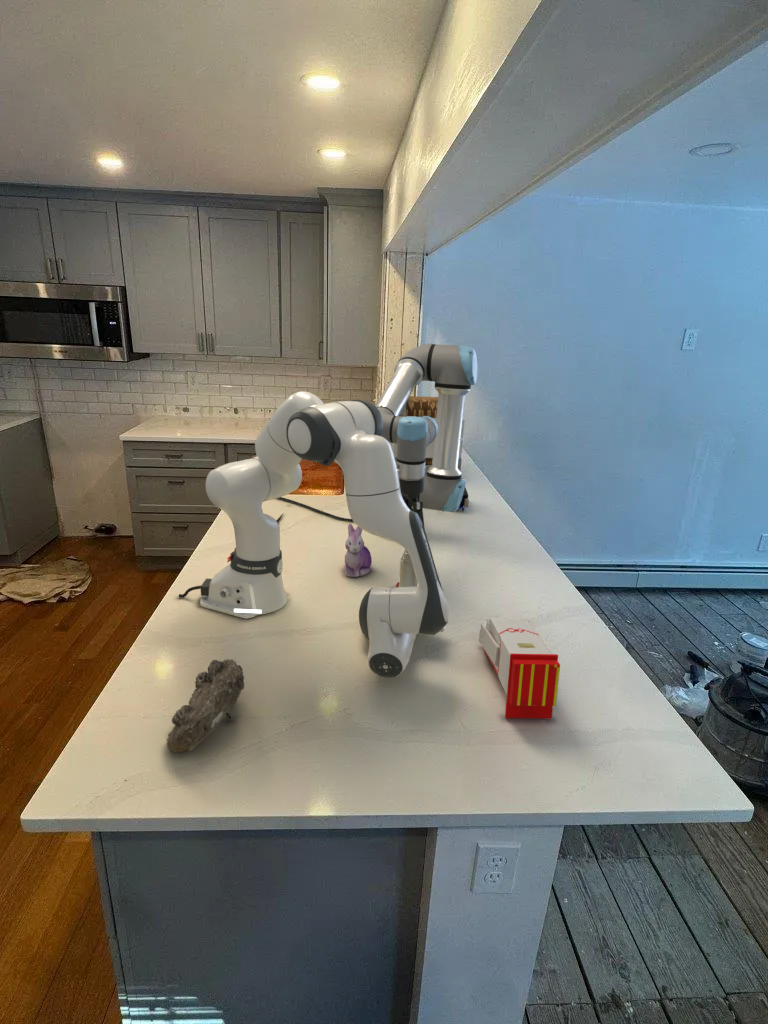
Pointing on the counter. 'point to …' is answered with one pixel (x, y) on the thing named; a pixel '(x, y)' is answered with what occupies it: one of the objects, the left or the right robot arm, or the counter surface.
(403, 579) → the bottle
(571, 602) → the counter surface
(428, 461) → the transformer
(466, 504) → the figurine character
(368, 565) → the figurine
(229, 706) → the fossil
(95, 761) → the counter surface
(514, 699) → the toy
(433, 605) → the left robot arm
